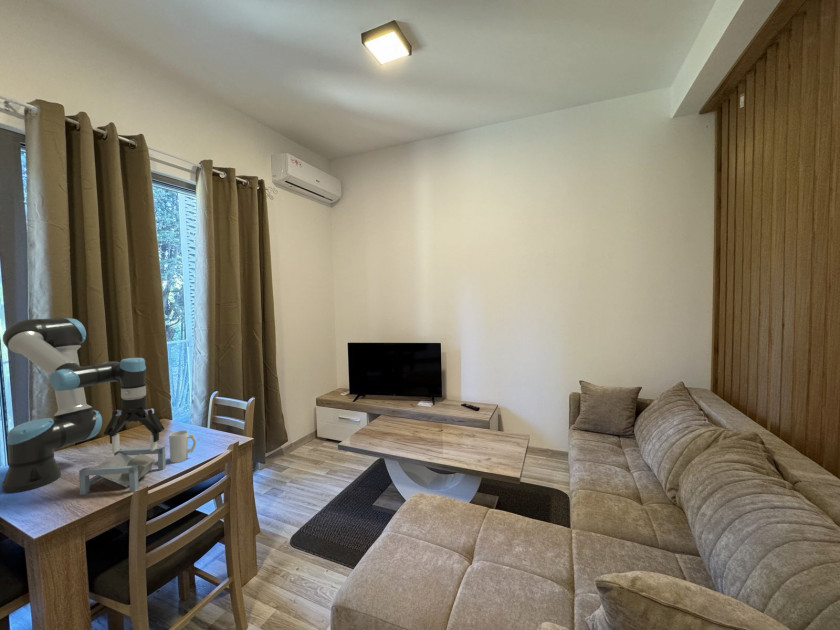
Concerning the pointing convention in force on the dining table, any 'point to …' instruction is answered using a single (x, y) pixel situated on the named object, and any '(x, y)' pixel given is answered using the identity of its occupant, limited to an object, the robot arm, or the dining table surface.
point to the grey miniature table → (120, 469)
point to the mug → (180, 445)
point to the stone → (141, 464)
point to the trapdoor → (114, 462)
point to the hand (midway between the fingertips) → (135, 450)
